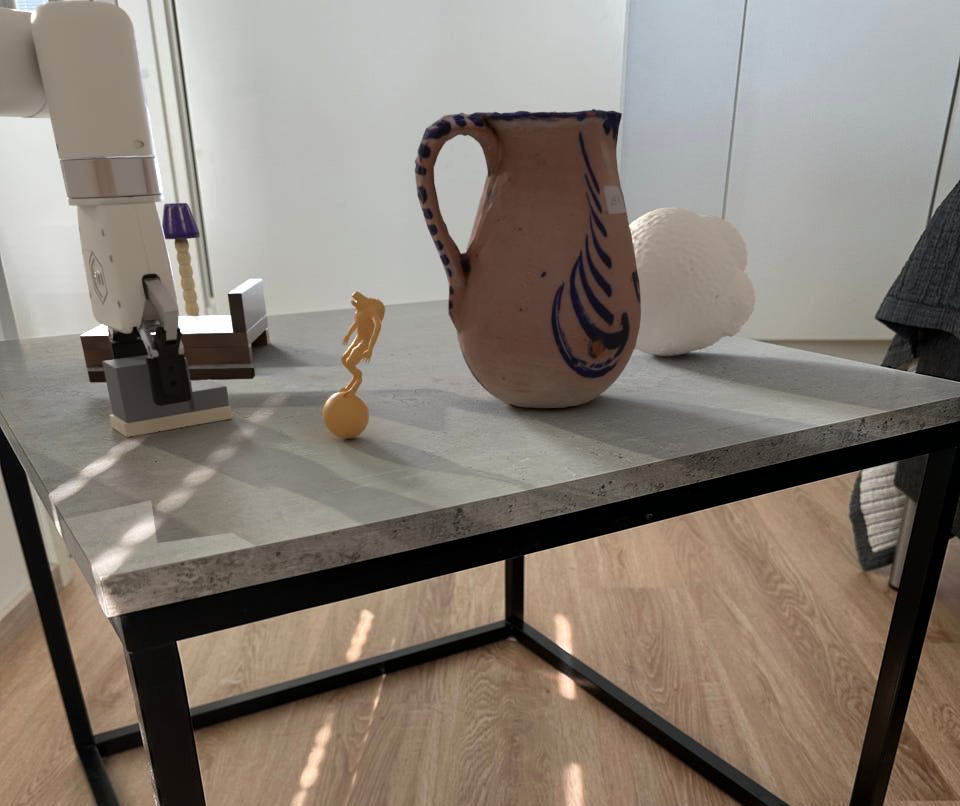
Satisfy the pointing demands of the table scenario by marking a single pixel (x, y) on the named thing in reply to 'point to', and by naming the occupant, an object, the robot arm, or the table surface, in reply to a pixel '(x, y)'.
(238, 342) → the wooden doll bed
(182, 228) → the toy lamp
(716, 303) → the white lobed lump
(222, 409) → the trainer
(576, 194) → the ceramic pitcher
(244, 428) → the table surface
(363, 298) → the figurine
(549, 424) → the table surface
